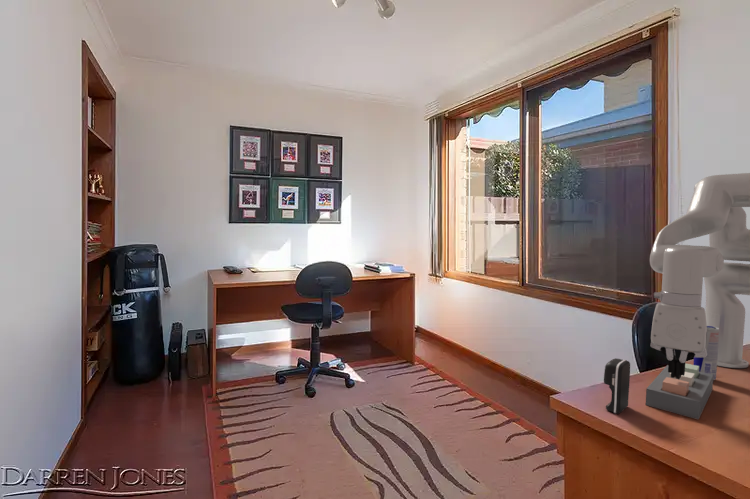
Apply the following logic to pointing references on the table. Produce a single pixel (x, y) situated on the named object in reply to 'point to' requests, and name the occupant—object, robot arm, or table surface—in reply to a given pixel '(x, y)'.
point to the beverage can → (709, 353)
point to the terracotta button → (675, 386)
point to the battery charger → (618, 384)
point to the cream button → (686, 378)
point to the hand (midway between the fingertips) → (676, 376)
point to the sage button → (692, 369)
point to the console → (679, 403)
